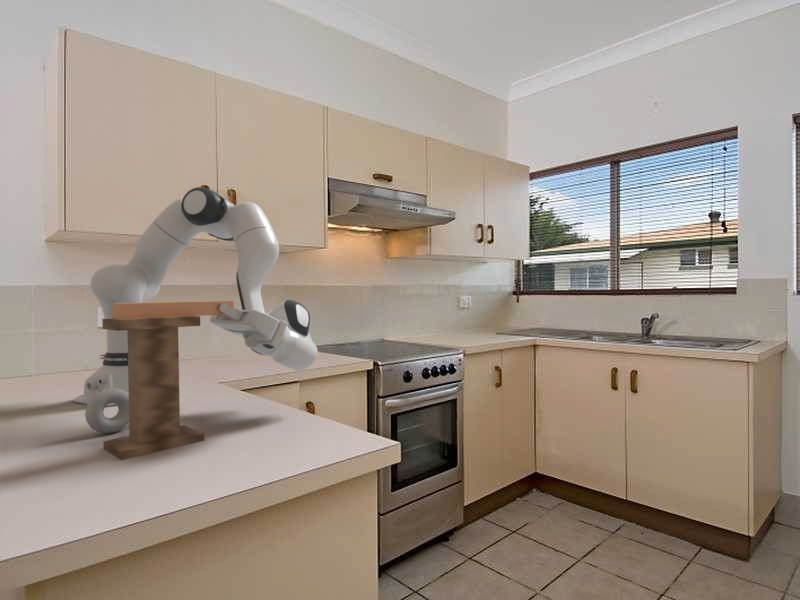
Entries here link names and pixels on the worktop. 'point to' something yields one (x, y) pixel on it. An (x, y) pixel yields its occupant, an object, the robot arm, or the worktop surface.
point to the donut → (97, 407)
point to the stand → (152, 386)
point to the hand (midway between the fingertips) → (214, 306)
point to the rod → (166, 309)
